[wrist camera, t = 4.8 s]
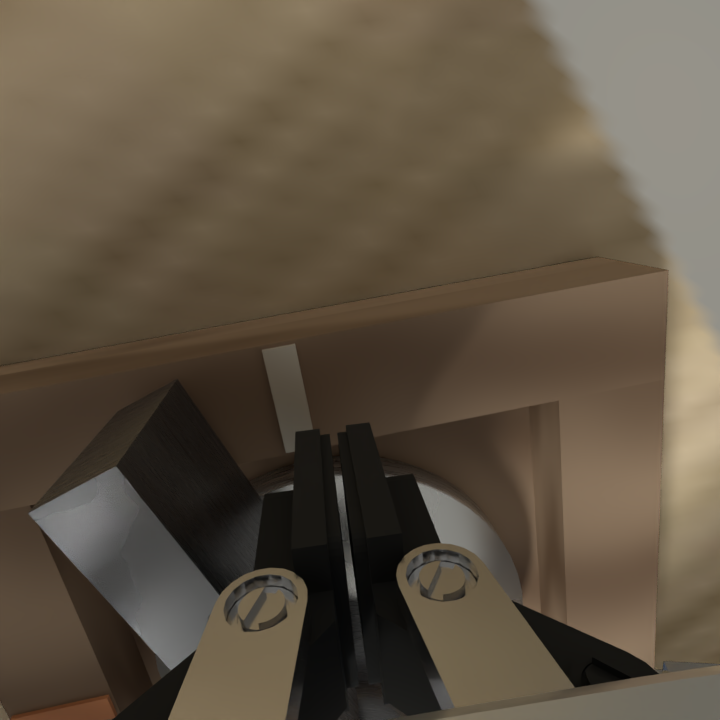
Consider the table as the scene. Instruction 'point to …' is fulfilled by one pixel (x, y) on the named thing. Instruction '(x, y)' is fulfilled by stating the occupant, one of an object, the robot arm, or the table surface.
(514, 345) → the wooden frame
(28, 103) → the table surface
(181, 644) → the dial
